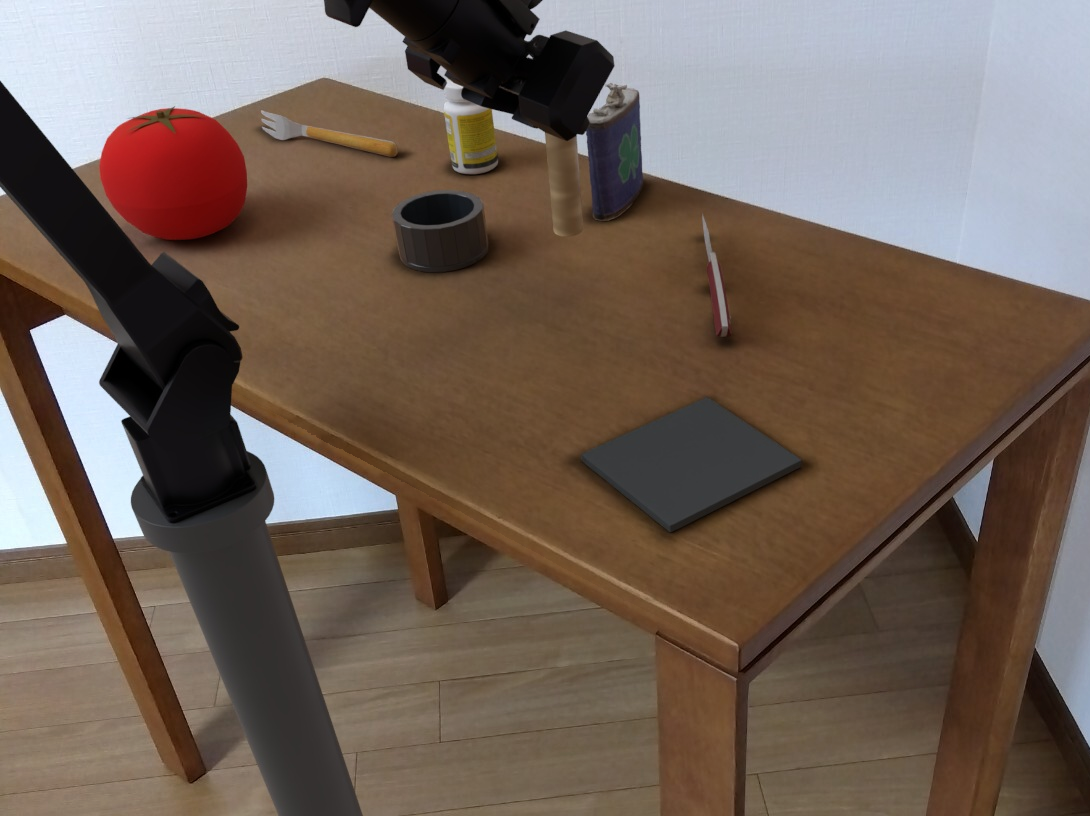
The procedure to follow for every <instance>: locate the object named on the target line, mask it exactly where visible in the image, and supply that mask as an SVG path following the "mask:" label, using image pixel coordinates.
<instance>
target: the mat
mask: <svg viewBox="0 0 1090 816" xmlns="http://www.w3.org/2000/svg"><path fill="white" fill-rule="evenodd" d="M580 461H581V462H582V463H584V464H585V466H587V467H588V468H590V469H591V470H592V471H593V472H594V473H596V474H597V475H598V476H600V478H602V479H603V480H604V481H606V482H607V483H608V484H609V485H611V487H613V488H614V489H616V490H617V491H618V492H619V493H620V494H621V495H623V496H624V497H626V498H627V499H628V500H629V501H630V502H631V503H633V504H634V505H635V506H637V507H638V508H639V509H640V510H642V511H643V512H644V513H645V514H646V515H648V516H649V517H650V518H651V519H653V521H655V522H656V523H657V524H659V525H660V526H661V527H662V528H664V529H665V530H666V531H668V532H669V534H670V533H674V532H675V531H677V530H679V529H681V528H683V527H686V525H689V524H691V523H693V522H695V521H697V520H699V519H701V518H703V517H705V516H707V515H709V514H711V513H713V512H714V511H717V510H718V509H720V508H723V507H725V506H727V505H728V504H729V505H730V503H733V502H734V501H736V500H739V499H740V498H743V497H744V496H746V495H749V494H751V493H752V492H754V491H757V490H758V489H760V488H762V487H764V486H766V485H768V484H770V483H772V482H774V481H777V480H778V479H780V478H782V477H784V476H786V475H788V474H790V473H792V472H795V471H796V470H798V469H800V468H802V465H803V459H802V458H800V457H799V456H797V455H796V454H794V453H792V451H790V450H788V449H786V447H783V446H782V445H780V444H779V443H777V442H776V441H774V440H773V439H771V438H770V437H768V436H767V435H765V434H764V433H763V432H761V431H759V430H758V429H756V428H755V427H754V426H752V425H750V424H749V423H748V422H745V421H744V420H743V419H741V418H740V417H738V416H737V415H735V414H733V413H732V412H731V411H729V410H728V409H727V408H725V407H723V406H722V405H720V404H719V403H717V402H716V401H714V400H713V399H711V398H710V397H708V396H706V397H703V398H701V399H700V400H697V401H695V402H693V403H691V404H688V405H686V406H683V407H682V408H680V409H679V408H678V409H677V410H675V411H673V412H671V413H668V414H666V415H664V416H662V417H660V418H657V419H655V420H653V421H651V422H649V423H646V424H644V425H642V426H640V427H637V428H635V429H633V430H631V431H628V432H626V433H624V434H622V435H620V436H618V437H615V438H613V439H611V440H609V441H607V442H604V443H602V444H600V445H598V446H595V447H593V448H591V449H589V450H587V451H584V452H582V453H581V454H580Z"/></svg>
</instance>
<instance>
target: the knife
mask: <svg viewBox="0 0 1090 816" xmlns="http://www.w3.org/2000/svg"><path fill="white" fill-rule="evenodd" d="M701 215H702V229H703V236H704V243H705V249H706V253H707V258H708V263H707V265H706V275H707V280H708V285H709V290H710V291H709V292H710V298H711V305H712V314H713V323H714V328H715V335H716V337H718V338H723V337H724V338H725V337H730V336H732V325H731V324H732V322H731V320H732V316H731V314H730V310H729V305H728V299H727V298H728V297H727V292H726V286H725V281H724V274H723V273H724V272H723V271H722V265H721V264H720V262H719V261H718V260H717V259H718V258H717V255H716V251H713V249H712V245H711V238H710V233H709V228H708V226H707V223H706V219H705V217H704V214H703V213H701Z"/></svg>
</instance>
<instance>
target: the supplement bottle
mask: <svg viewBox="0 0 1090 816" xmlns="http://www.w3.org/2000/svg"><path fill="white" fill-rule="evenodd" d="M446 81H447V84H446V86H445V88H444V90H443V91H444V95H445V96H444V97H445V99H446V101H445V102H444V104H443V116H444V122H445V129H446V135H447V143H448V148H449V149H448V150H449V153H450V154H449V155H450V162H451V167H452V169H453V170H454V172H457V173H459V174H464V175H479V174H484V173H488V172H490V171H492V170H494V169H495V168H496V167H497V166H498V164H499V155H498V149H497V141H496V140H497V139H496V132H495V131H496V130H495V125H494V116H493V109H489V108H485V107H482V106H479V105H477V104H474V103H472V102H470V101H467V100H465V99H463V98H462V96H461V91H462V89H463V87H462V86H460V85H457V84H455V83H453V82H452V81H451V80H449V79H448V78H447V79H446Z"/></svg>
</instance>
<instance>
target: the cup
mask: <svg viewBox="0 0 1090 816" xmlns="http://www.w3.org/2000/svg"><path fill="white" fill-rule="evenodd" d="M484 206H485V205H484V202H483V201H482V199H481V198H480V197H479V196H477V195H476V194H474V193H471V192H467V191H464V190H454V189H453V190H452V189H442V190H440V189H439V190H438V189H437V190H432V191H426V192H422V193H418V194H416V195H412V196H410V197H408V198H406V199H404V200H402V201H400V202H398V204H397V205H396V206H395V207H393V209H392V212H391V220H392V225H393V231H394V236H395V240H396V245H397V252H398V255H399V259H400V262H401V263H402V264H403V265H404V266H406V267H407V268H410V269H411V270H414V271H419V272H423V273H444V272H445V273H446V272H453V271H457V270H461V269H464V268H467V267H470V266H472V265H475V264H476V263H478V262H480V261H481V260H482V259H483V258H484V257H485V256H486V255H487V254H488V251H489V248H490V247H489V235H488V228H487V221H486V213H485V207H484Z"/></svg>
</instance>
